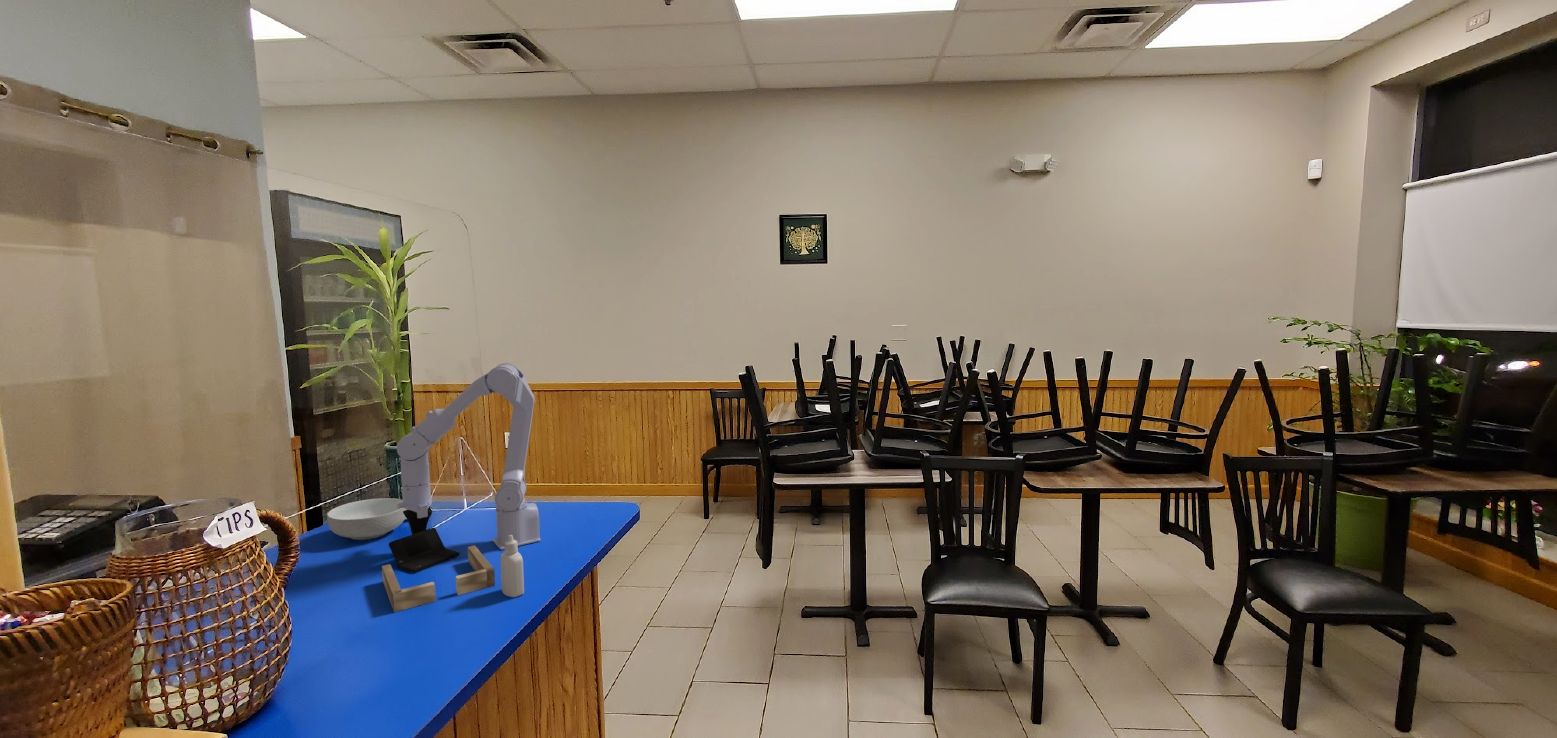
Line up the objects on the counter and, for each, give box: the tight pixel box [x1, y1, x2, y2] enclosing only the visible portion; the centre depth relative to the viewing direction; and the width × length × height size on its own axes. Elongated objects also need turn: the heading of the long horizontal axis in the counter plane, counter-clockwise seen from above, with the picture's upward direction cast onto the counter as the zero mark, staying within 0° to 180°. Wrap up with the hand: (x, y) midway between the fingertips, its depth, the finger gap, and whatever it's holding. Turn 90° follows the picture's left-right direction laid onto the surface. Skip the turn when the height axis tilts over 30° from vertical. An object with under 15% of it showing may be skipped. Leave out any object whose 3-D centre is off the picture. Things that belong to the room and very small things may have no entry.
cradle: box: [381, 544, 496, 613], centre depth 128 cm, size 18×16×4 cm
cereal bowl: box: [326, 497, 408, 541], centre depth 155 cm, size 17×17×7 cm
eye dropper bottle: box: [500, 535, 525, 598], centre depth 124 cm, size 4×6×12 cm
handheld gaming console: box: [388, 527, 460, 574], centre depth 139 cm, size 12×7×10 cm
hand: (419, 539), depth 144 cm, fingers closed
